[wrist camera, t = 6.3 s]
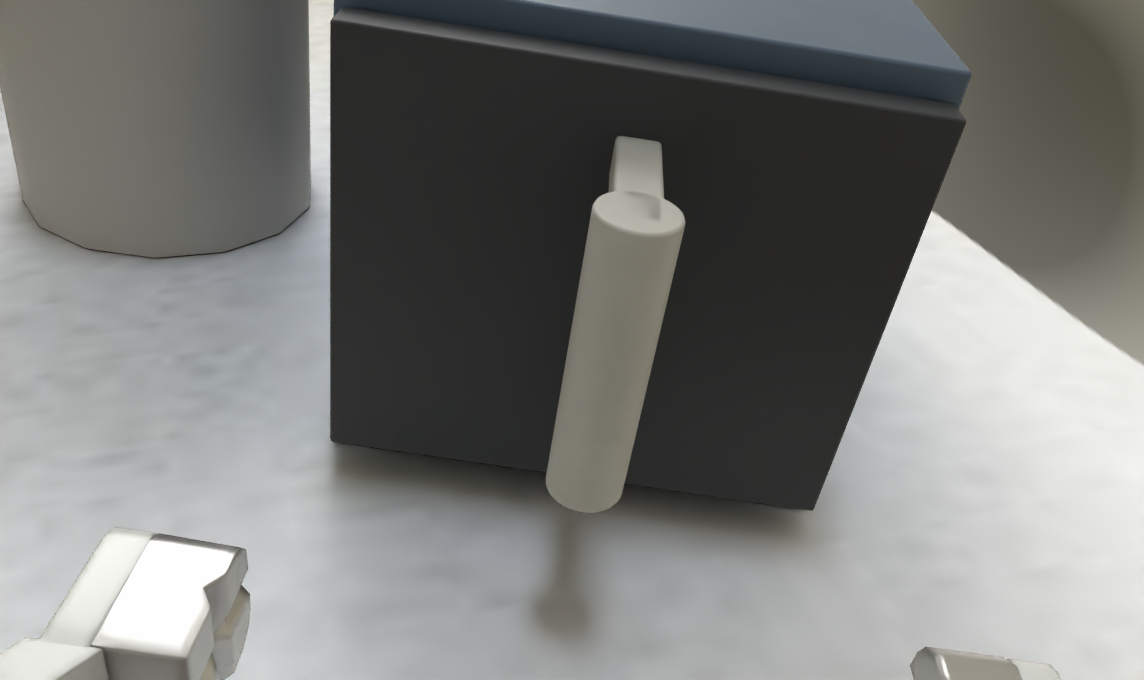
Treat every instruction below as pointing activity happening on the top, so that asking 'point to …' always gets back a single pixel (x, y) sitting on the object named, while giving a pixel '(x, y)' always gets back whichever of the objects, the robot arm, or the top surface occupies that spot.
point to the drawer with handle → (611, 257)
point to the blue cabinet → (734, 36)
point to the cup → (159, 120)
